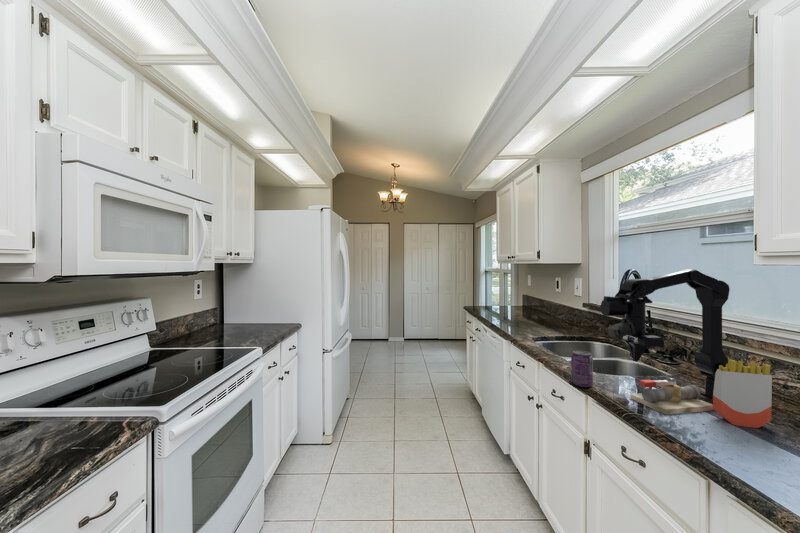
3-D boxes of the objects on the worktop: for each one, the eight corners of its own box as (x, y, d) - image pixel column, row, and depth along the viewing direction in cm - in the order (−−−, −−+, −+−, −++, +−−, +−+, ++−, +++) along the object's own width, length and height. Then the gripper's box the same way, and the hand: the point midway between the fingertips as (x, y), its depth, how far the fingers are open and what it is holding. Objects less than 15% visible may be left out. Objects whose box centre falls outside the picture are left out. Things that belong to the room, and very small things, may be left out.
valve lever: (670, 383, 107) (670, 377, 107) (677, 386, 105) (677, 379, 105) (639, 385, 105) (639, 378, 105) (645, 387, 103) (645, 381, 103)
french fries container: (711, 416, 97) (712, 355, 97) (758, 422, 94) (759, 359, 94) (721, 423, 93) (722, 359, 93) (771, 429, 90) (772, 363, 90)
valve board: (674, 394, 113) (675, 377, 113) (714, 410, 102) (714, 390, 102) (630, 398, 110) (630, 380, 110) (666, 414, 98) (666, 394, 98)
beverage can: (587, 381, 126) (587, 350, 126) (596, 388, 118) (596, 355, 118) (567, 381, 126) (568, 349, 126) (575, 387, 119) (576, 354, 119)
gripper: (595, 312, 123) (596, 354, 123) (630, 320, 104) (630, 370, 104) (626, 312, 123) (626, 353, 123) (665, 320, 104) (666, 369, 104)
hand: (635, 361), depth 113 cm, fingers closed
